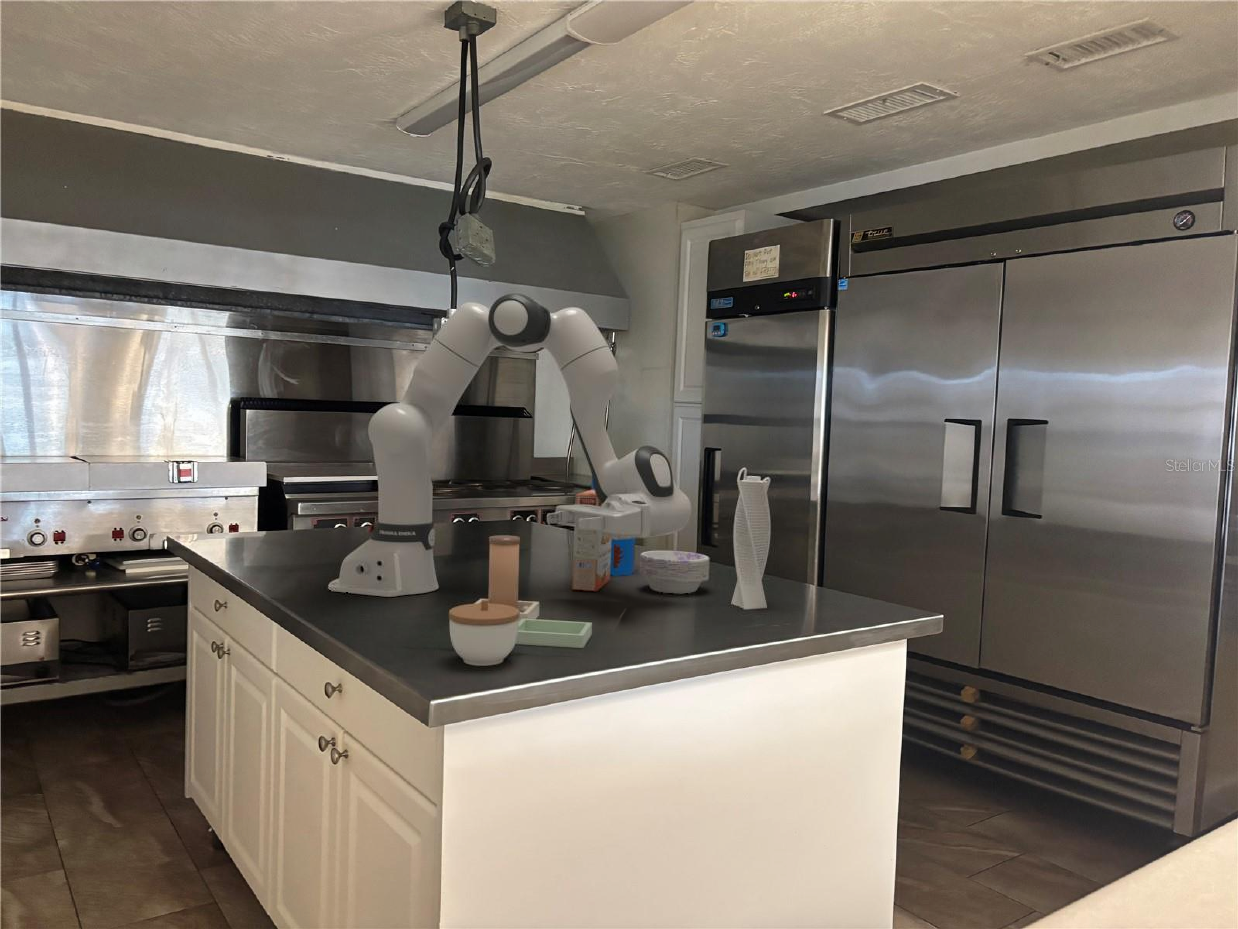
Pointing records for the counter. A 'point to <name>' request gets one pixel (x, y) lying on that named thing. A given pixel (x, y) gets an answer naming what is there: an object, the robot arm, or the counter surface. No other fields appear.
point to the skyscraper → (751, 541)
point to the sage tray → (553, 633)
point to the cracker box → (590, 552)
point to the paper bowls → (674, 570)
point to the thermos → (621, 555)
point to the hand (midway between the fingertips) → (563, 521)
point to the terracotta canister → (504, 570)
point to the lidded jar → (483, 632)
